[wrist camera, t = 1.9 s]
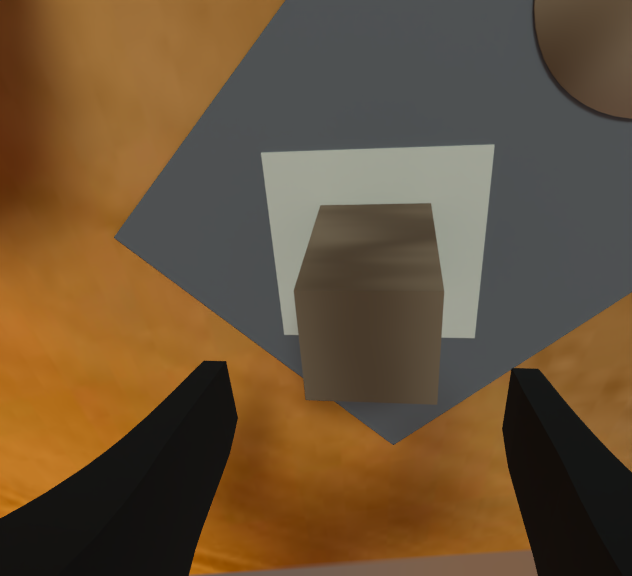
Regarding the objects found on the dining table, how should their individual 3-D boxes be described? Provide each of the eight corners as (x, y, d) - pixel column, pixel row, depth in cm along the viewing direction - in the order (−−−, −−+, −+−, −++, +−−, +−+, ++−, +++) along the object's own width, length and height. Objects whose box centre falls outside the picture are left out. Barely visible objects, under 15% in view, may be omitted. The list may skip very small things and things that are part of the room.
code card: (284, 333, 23) (284, 335, 23) (261, 152, 19) (260, 153, 19) (474, 337, 22) (474, 339, 22) (494, 144, 18) (494, 145, 17)
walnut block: (431, 203, 19) (444, 291, 14) (426, 297, 21) (436, 404, 16) (320, 205, 19) (293, 290, 14) (326, 296, 21) (305, 399, 16)
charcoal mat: (1021, 39, 14) (1023, 40, 14) (393, 443, 26) (393, 444, 26) (691, -561, 10) (694, -564, 10) (114, 236, 21) (113, 237, 21)
